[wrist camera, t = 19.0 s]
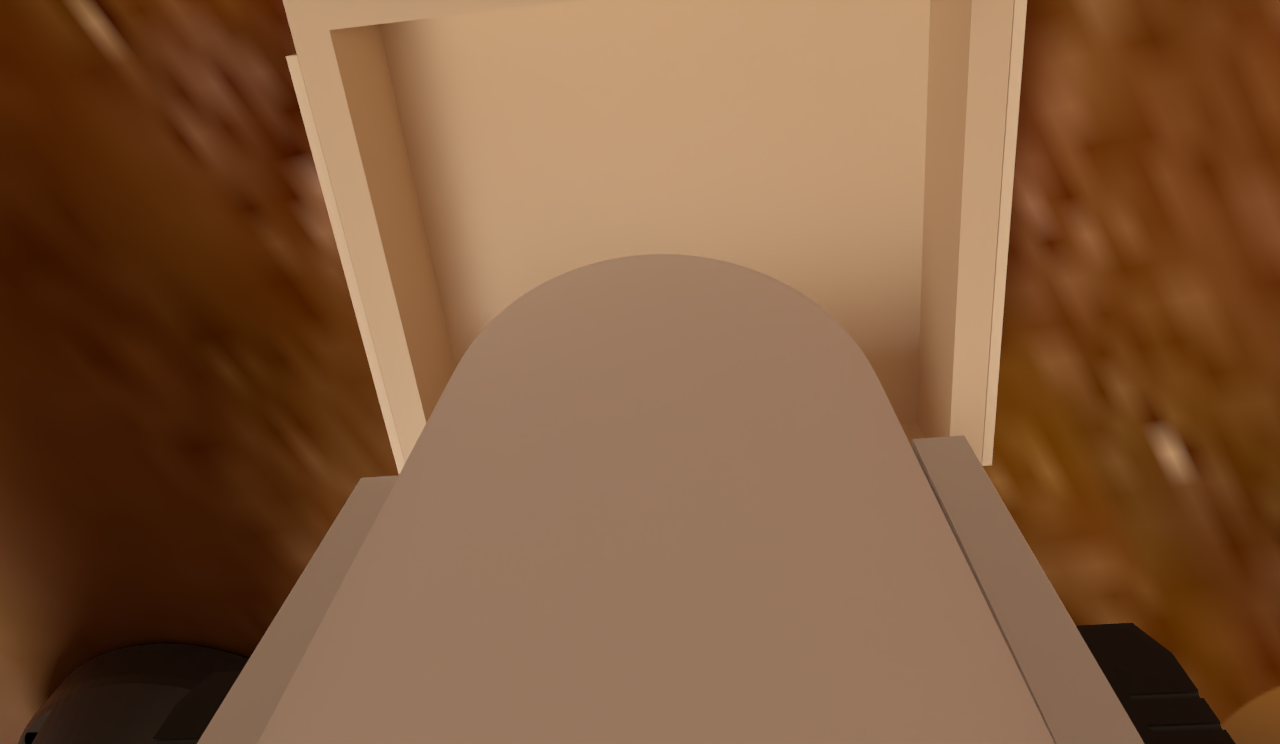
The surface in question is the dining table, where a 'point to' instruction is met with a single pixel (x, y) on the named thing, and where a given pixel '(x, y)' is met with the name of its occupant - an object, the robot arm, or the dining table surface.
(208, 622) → the dining table surface
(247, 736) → the robot arm
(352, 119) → the carton
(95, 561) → the dining table surface
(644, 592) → the beverage can
